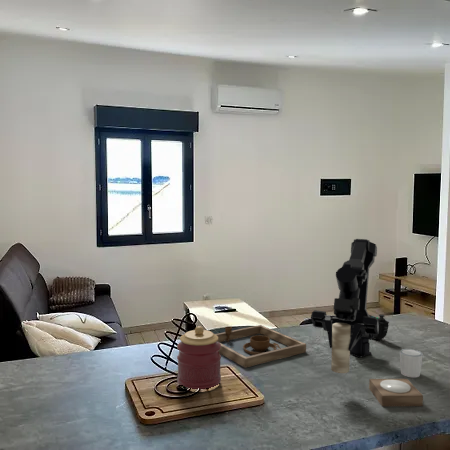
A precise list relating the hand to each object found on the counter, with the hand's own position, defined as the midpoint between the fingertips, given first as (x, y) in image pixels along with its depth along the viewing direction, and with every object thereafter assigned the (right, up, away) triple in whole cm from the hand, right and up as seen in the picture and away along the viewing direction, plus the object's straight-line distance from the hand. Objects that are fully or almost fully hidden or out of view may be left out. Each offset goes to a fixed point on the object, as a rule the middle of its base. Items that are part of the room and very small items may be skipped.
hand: (340, 349), depth 135 cm
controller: (+25, -9, +51) cm, 57 cm away
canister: (-40, -13, +8) cm, 43 cm away
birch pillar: (0, -6, +2) cm, 7 cm away
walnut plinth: (+15, -14, 0) cm, 21 cm away
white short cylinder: (+26, -12, +17) cm, 33 cm away
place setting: (-22, -10, +41) cm, 48 cm away
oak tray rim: (-22, -10, +39) cm, 46 cm away
